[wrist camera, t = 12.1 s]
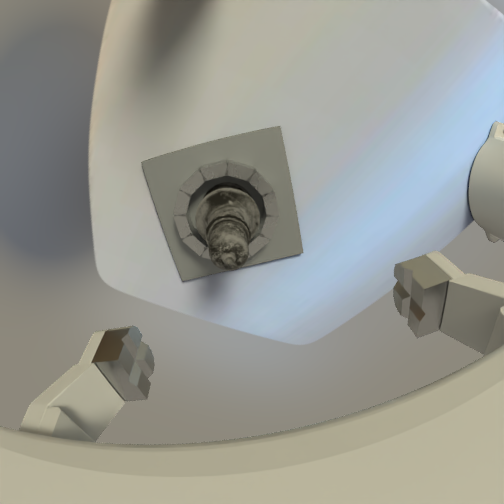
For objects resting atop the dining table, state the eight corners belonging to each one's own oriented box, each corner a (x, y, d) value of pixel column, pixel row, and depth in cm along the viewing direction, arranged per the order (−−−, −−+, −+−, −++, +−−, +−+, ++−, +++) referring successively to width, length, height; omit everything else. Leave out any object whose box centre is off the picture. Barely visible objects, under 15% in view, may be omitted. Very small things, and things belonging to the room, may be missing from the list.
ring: (263, 150, 28) (266, 153, 26) (282, 240, 32) (285, 248, 30) (165, 175, 28) (161, 180, 26) (193, 261, 32) (192, 270, 31)
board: (279, 126, 27) (280, 126, 27) (302, 250, 34) (303, 252, 33) (142, 161, 28) (141, 162, 27) (183, 278, 34) (182, 281, 33)
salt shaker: (234, 244, 32) (240, 314, 21) (187, 215, 30) (168, 275, 19) (267, 200, 30) (292, 253, 19) (219, 168, 28) (216, 203, 17)
